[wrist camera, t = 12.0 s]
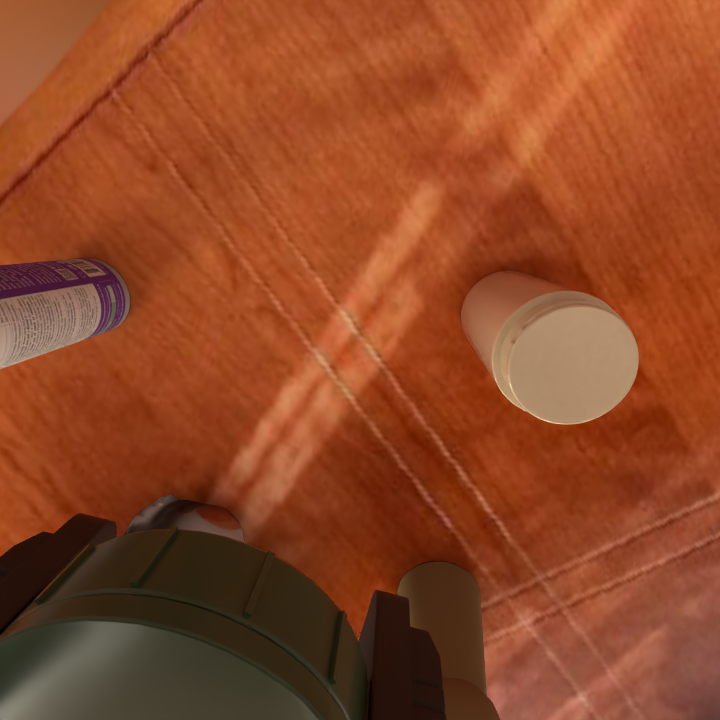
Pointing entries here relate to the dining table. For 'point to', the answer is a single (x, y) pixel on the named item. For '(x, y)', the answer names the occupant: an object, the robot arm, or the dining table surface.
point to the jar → (550, 346)
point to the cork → (452, 634)
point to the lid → (181, 638)
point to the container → (57, 305)
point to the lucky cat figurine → (186, 518)
